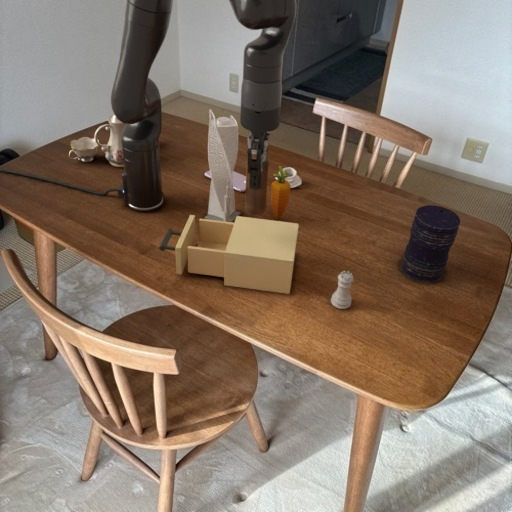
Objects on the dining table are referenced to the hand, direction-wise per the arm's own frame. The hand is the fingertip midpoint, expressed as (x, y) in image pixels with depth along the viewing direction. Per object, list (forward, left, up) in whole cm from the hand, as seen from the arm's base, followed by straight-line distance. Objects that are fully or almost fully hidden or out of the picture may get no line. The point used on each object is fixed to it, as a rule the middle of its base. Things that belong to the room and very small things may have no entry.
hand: (256, 181), depth 108 cm
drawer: (-12, 0, -22) cm, 25 cm away
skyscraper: (-11, +21, -23) cm, 33 cm away
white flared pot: (+5, +42, -23) cm, 48 cm away
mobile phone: (-12, +40, -23) cm, 48 cm away
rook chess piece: (+21, -8, -23) cm, 32 cm away
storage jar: (+40, +8, -23) cm, 47 cm away
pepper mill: (0, 0, -7) cm, 7 cm away
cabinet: (+2, 0, -23) cm, 23 cm away
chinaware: (-48, +46, -23) cm, 71 cm away
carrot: (+4, +22, -23) cm, 32 cm away
